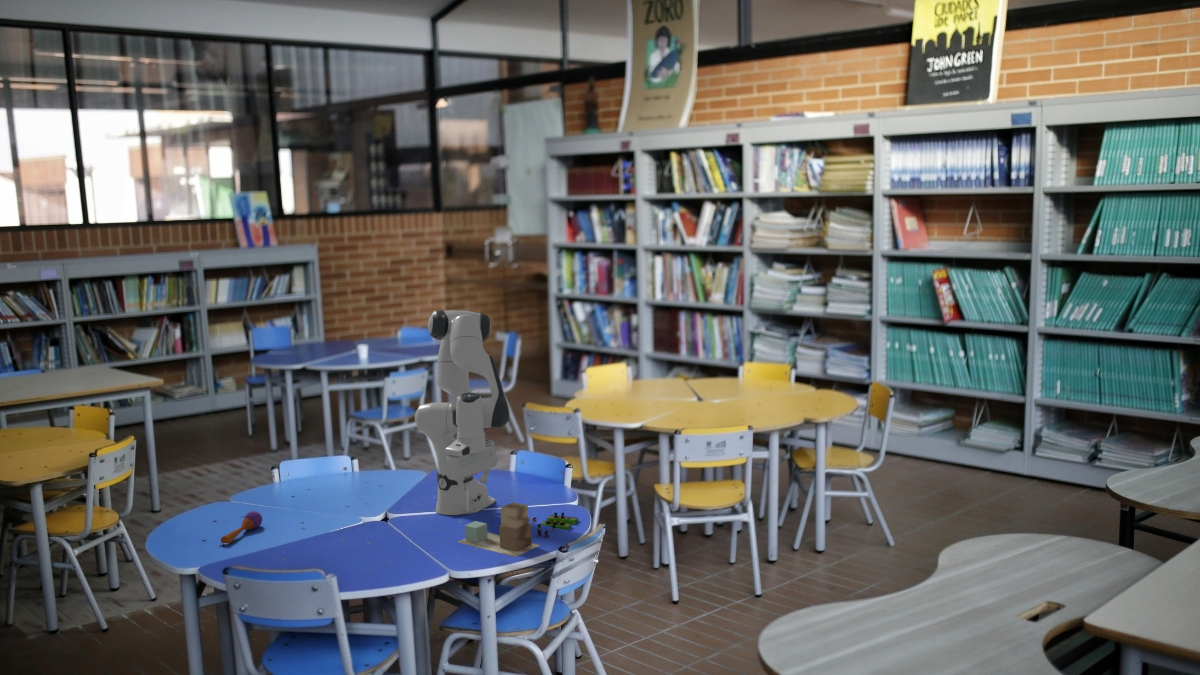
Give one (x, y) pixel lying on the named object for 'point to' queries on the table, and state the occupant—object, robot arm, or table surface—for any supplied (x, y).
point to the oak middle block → (514, 515)
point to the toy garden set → (556, 523)
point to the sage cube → (476, 532)
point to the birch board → (497, 545)
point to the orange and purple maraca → (244, 526)
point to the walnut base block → (515, 537)
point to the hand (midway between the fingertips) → (473, 486)
